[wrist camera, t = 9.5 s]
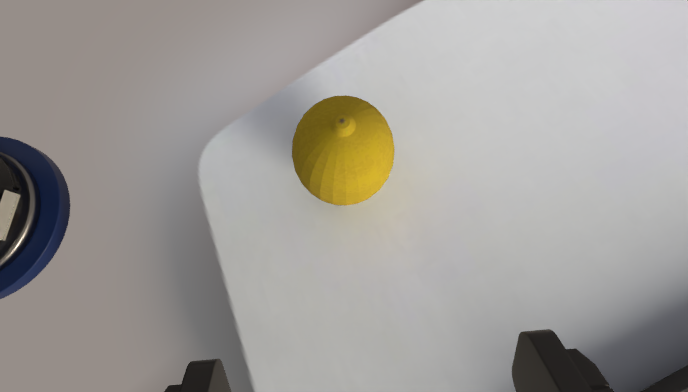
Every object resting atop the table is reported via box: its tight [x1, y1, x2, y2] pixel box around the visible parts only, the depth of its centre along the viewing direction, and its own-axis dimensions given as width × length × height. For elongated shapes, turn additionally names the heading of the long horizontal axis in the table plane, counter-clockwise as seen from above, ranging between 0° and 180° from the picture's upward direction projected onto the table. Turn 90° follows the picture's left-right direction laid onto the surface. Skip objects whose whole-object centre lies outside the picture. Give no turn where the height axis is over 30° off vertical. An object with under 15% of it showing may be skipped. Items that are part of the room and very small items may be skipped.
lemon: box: [292, 96, 394, 205], centre depth 22 cm, size 6×6×8 cm
